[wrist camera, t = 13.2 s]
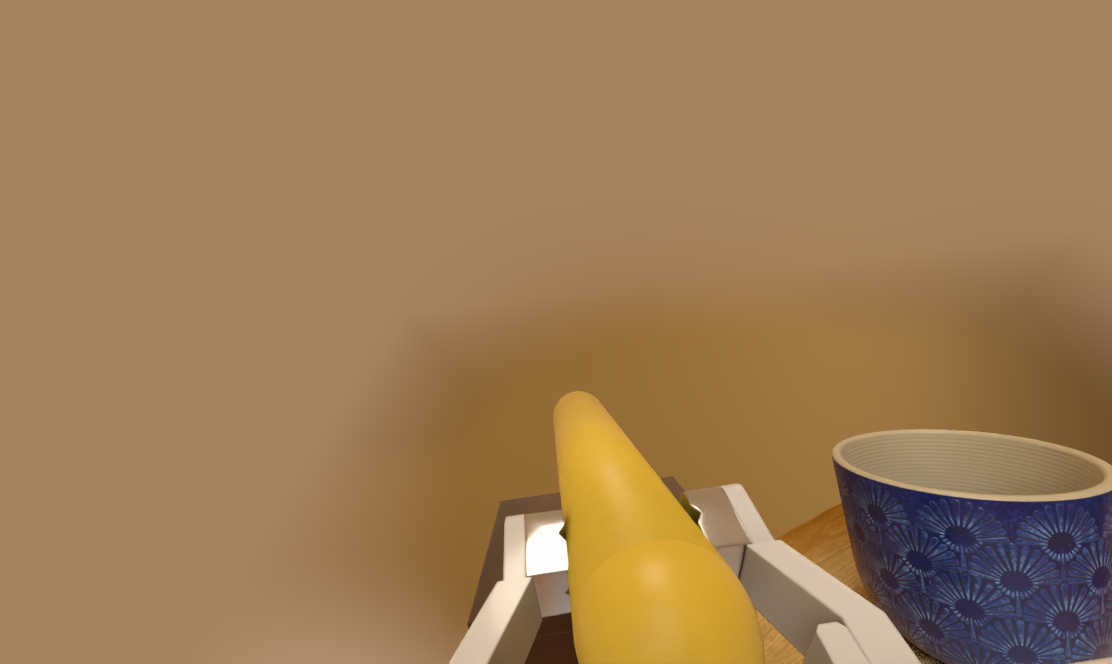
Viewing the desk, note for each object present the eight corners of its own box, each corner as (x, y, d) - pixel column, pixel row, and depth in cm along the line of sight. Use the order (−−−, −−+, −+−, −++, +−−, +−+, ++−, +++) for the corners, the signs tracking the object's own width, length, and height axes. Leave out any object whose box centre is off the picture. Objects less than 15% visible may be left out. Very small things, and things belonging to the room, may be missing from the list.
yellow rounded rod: (824, 806, 6) (793, 579, 6) (597, 845, 6) (566, 614, 6) (603, 432, 28) (597, 384, 28) (556, 439, 28) (549, 391, 28)
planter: (1093, 794, 29) (1057, 524, 29) (811, 620, 48) (790, 457, 48) (1189, 666, 37) (1161, 454, 37) (915, 560, 56) (896, 420, 56)
